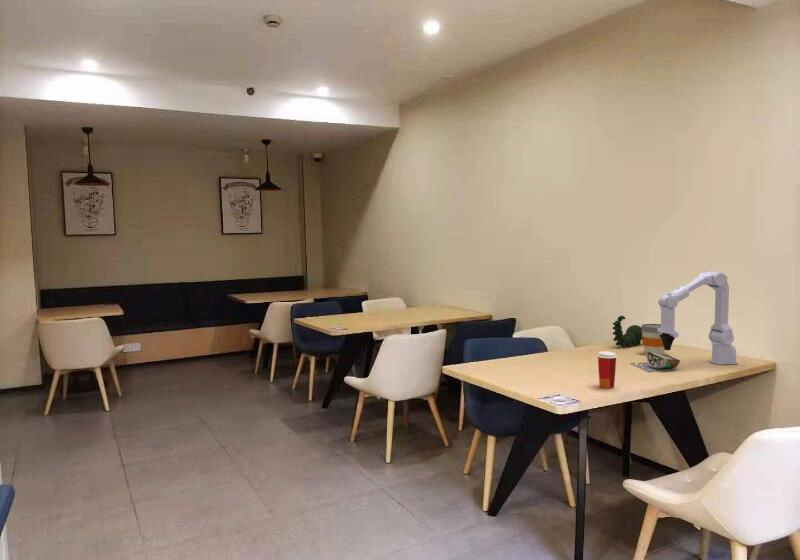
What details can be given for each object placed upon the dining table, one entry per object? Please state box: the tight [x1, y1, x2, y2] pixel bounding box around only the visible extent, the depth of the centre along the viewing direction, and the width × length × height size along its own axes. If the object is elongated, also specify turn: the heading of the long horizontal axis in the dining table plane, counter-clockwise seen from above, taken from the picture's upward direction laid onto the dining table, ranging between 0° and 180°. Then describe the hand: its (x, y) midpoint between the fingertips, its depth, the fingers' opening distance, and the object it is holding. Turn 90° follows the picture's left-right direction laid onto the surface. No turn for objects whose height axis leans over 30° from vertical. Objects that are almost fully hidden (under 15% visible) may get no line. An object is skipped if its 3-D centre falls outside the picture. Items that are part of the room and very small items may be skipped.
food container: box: [645, 351, 681, 369], centre depth 256 cm, size 12×6×10 cm
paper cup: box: [596, 350, 618, 389], centre depth 229 cm, size 8×8×14 cm
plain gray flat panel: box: [630, 361, 677, 373], centre depth 260 cm, size 13×17×1 cm
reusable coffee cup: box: [641, 323, 666, 355], centre depth 285 cm, size 13×13×15 cm
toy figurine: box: [612, 315, 642, 348], centre depth 308 cm, size 9×19×25 cm
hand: (667, 350), depth 259 cm, fingers closed
